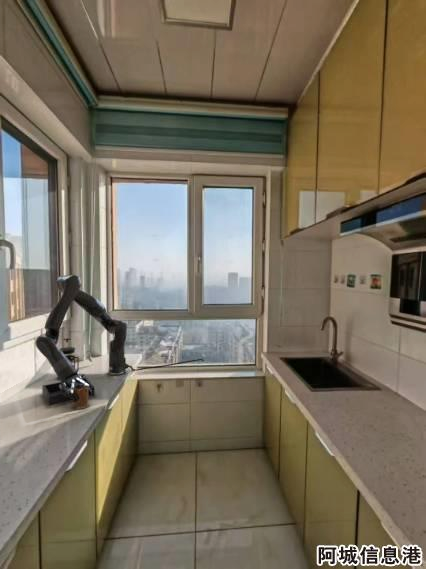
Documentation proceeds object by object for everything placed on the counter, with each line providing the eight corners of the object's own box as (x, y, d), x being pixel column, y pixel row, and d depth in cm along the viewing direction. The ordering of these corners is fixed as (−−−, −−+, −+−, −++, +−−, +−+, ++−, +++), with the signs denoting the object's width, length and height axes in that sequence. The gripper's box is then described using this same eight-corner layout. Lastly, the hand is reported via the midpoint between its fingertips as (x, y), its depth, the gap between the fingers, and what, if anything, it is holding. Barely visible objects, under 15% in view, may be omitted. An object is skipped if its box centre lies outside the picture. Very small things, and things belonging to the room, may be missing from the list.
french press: (53, 380, 162) (54, 340, 162) (59, 375, 171) (59, 337, 171) (76, 379, 165) (76, 340, 164) (80, 374, 174) (80, 336, 173)
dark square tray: (84, 386, 155) (84, 377, 155) (94, 396, 142) (94, 386, 142) (42, 395, 142) (42, 385, 142) (48, 407, 129) (48, 396, 129)
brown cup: (86, 402, 135) (86, 383, 135) (89, 407, 130) (90, 387, 130) (72, 406, 131) (72, 386, 131) (75, 410, 126) (76, 390, 126)
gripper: (56, 369, 126) (76, 399, 123) (80, 360, 140) (99, 387, 136) (47, 379, 128) (66, 409, 124) (72, 370, 141) (90, 396, 138)
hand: (83, 397), depth 130 cm, fingers open, 8 cm apart
